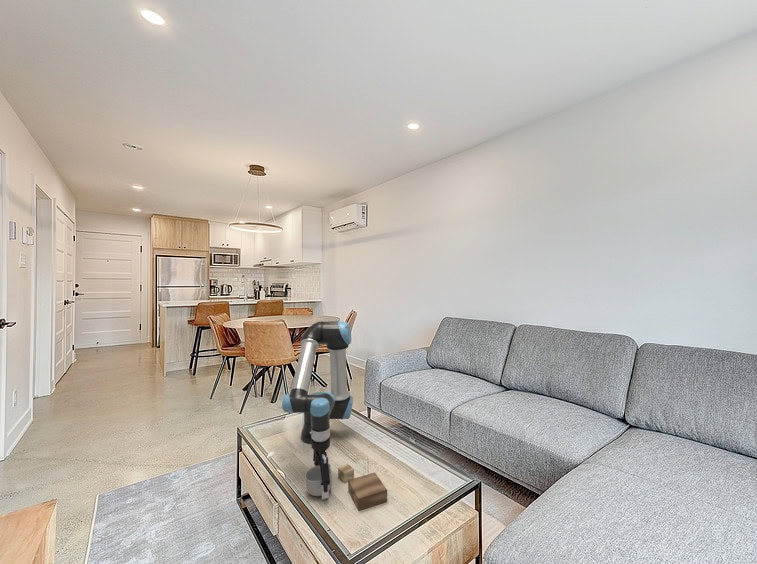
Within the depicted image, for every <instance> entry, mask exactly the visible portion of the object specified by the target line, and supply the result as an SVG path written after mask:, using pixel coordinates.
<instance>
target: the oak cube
mask: <svg viewBox="0 0 757 564" xmlns="http://www.w3.org/2000/svg"><path fill="white" fill-rule="evenodd" d="M337 476H338V479H339V480H340V481H341V482H342V483H344V484H346V483H347V482H348V480H350V479H353V478H355V468H354V467H352V466H351V465H350V464H349V463H346V464H344V465H342V466H339V467H338V468H337Z"/></svg>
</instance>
